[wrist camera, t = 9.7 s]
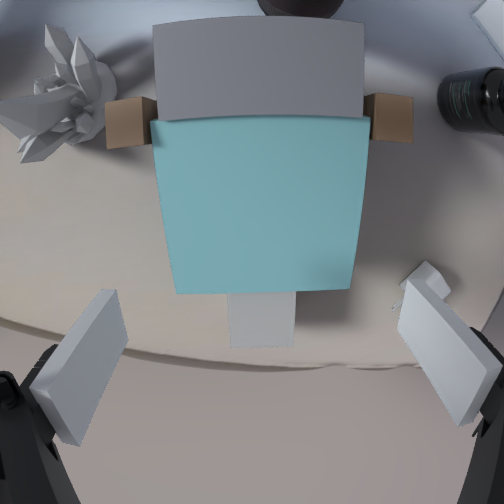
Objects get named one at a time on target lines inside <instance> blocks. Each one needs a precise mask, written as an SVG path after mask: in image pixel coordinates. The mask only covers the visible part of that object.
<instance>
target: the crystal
mask: <svg viewBox="0 0 504 504" xmlns="http://www.w3.org/2000/svg"><path fill="white" fill-rule="evenodd" d="M45 47H46V48H47V49H48V51H49V52H50V53H51V54H52V56H53V57H54V58H55V60H56V61H57V63H56V62H55V71H56V72H55V73H54V74H52V75H51V76H49V78H50V80H49V79H45V78H42V77H38V78H35V79H34V81H35V84H34V94H35V95H33V96H25V97H18V98H11V99H5V100H0V123H1V124H2V125H3V126H4V127H6V128H7V129H8V130H9V131H10V132H11V133H13V134H14V135H15V136H16V137H17V138H19V139H21V138H22V141H21V143H20V146H19V149H18V151H17V153H19V152H23V151H24V153H23V156H22V158H21V161H20V163H29V162H37V161H43V160H44V159H46V158H47V157H48V156H50V155H51V154H52V153H53V152H55V151H56V150H57V149H58V148H59V147H60V146H61V145H62V144H63V143H67V144H69V145H71V146H72V145H73V144H76V143H80V142H84V141H87V140H91V139H93V137H94V136H95V135H96V134H97V133H98V132H99V131H100V130H101V129H102V128H103V127H104V126H105V103H106V102H111V101H115V99H116V96H117V87H116V81H115V76H114V75H113V73H112V72H111V70H110V69H109V67H108V66H107V64H104V63H102V62H99V61H96V60H95V56H94V54H93V53H92V52H91V50H90V49H89V48H88V47H87V46H86V45H85V44H84V43H83V41H82V40H81V39H80V38H79V37H77V39H76V42H75V46H73V44H72V42H71V40H70V38H69V36H68V35H67V33H66V31H65V30H64V28H62V27H57V26H53V25H48V24H46V25H45Z"/></svg>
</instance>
